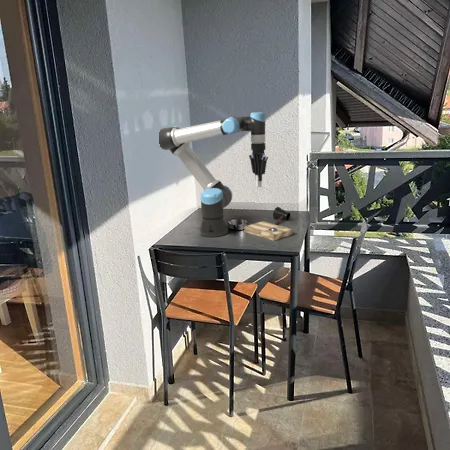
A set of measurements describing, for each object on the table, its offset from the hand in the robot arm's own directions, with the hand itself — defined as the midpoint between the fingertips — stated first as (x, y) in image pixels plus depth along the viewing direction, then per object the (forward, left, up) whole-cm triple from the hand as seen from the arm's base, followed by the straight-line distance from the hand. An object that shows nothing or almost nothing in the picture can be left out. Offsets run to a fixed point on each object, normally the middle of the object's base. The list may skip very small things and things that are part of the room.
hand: (258, 186), depth 236 cm
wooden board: (-3, -10, -23) cm, 25 cm away
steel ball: (-3, -14, -21) cm, 26 cm away
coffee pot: (+17, +2, -24) cm, 29 cm away
